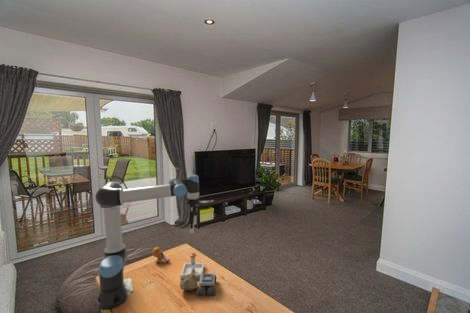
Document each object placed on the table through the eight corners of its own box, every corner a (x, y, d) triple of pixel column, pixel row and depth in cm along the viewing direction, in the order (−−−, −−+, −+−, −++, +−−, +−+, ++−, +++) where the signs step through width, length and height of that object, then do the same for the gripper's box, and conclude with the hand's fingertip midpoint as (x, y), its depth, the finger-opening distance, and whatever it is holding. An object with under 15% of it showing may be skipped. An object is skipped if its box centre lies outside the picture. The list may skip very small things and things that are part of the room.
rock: (196, 295, 133) (198, 283, 130) (178, 296, 131) (180, 283, 127) (196, 278, 144) (198, 266, 141) (179, 279, 142) (181, 266, 138)
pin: (189, 273, 150) (189, 256, 149) (190, 269, 154) (190, 253, 153) (195, 273, 150) (195, 256, 149) (196, 270, 154) (196, 253, 153)
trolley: (196, 296, 130) (196, 284, 129) (199, 281, 144) (199, 269, 143) (215, 296, 130) (215, 284, 130) (216, 281, 144) (216, 269, 144)
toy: (171, 255, 160) (157, 241, 165) (163, 263, 155) (149, 248, 160) (169, 263, 169) (156, 249, 174) (161, 270, 164) (148, 256, 168)
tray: (180, 279, 145) (180, 275, 145) (184, 266, 159) (184, 262, 159) (202, 279, 146) (202, 274, 145) (203, 266, 160) (204, 262, 159)
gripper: (196, 203, 137) (196, 236, 139) (200, 193, 162) (200, 221, 164) (184, 203, 137) (184, 236, 139) (190, 193, 162) (190, 221, 164)
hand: (193, 228), depth 151 cm, fingers open, 13 cm apart
